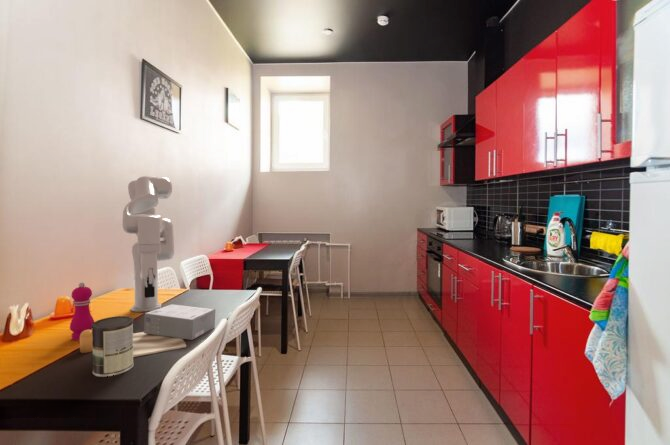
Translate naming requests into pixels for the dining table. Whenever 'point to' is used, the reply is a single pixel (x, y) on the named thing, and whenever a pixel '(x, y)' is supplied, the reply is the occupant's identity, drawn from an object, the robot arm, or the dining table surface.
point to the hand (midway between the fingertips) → (149, 296)
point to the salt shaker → (86, 341)
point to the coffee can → (112, 345)
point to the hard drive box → (179, 321)
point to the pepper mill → (81, 311)
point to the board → (154, 343)
